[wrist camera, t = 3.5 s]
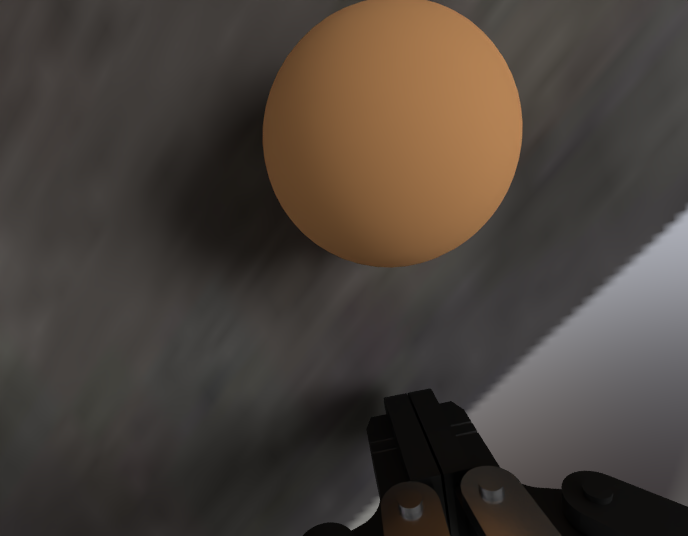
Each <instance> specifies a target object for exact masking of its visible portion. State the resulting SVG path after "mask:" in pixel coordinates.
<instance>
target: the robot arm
mask: <svg viewBox="0 0 688 536" xmlns="http://www.w3.org/2000/svg"><path fill="white" fill-rule="evenodd" d="M384 405H385V411H386V415H381V416H376V417H371V419H370V421H369V424H368V427H367V434H368V440H369V445H370V451H371V456H372V462H373V467H374V473H375V477H376V482H377V487H378V492H379V497H380V503H379V507H378V509H377V511H376V512H375V514H374V515H373V516H372V517H371V518H370V519H369V520H368V521H367V522H366V523H364V524H362V525H361V526H359V527H357V528H355V529H353V530H352V531H351V530H350V529H349V528H347V527H346V526H344V525H342V524H339V523H323V524H320V525H317V526H315V527H313V528H311V529H310V530H308V531H307V532H306V533H305V534H304V535H303V536H688V507H687V506H684V505H682V504H679V503H677V502H674V501H672V500H669V499H667V498H664V497H662V496H659V495H656V494H654V493H651V492H649V491H646V490H644V489H641V488H639V487H636V486H634V485H631V484H629V483H626V482H624V481H621V480H618V479H616V478H613V477H611V476H608V475H605V474H603V473H599V472H593V471H578V472H574V473H572V474H570V475H568V476H567V477H566V478H565V479H564V480H563V483H562V489H550V488H537V487H531V486H526V485H524V484H521V483H520V481H519V480H518V479H517V478H516V477H515V476H514V475H513V474H512V473H510V472H509V471H507V470H504V469H502V468H500V467H499V465H498V463H497V462H496V460H495V459H494V457H493V455H492V454H491V452H490V451H489V449H488V447H487V446H486V444H485V443H484V441H483V439H482V438H481V436H480V435H479V433H477V430H476V428H475V427H474V425H473V424H472V423H471V420H470V419H469V417H468V416H467V414H466V412H465V411H464V409H462V408H461V407H459V406H458V405H456V404H455V403H453V402H452V401H450V402H445V403H440V404H439V403H438V401H437V399H436V397H435V395H434V393H433V391H432V390H431V389H425V390H420V391H415V392H410V393H408V396H407V394H406V393H405V394H400V395H395V396H390V397H385V398H384Z"/></svg>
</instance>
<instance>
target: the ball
mask: <svg viewBox="0 0 688 536" xmlns="http://www.w3.org/2000/svg"><path fill="white" fill-rule="evenodd" d="M521 143H522V113H521V105H520V100H519V95H518V91H517V88H516V85H515V82H514V79H513V76H512V74H511V72H510V70H509V68H508V66H507V64H506V62H505V60H504V58H503V57H502V55H501V54H500V52H499V51H498V49H497V48H496V46H495V45H494V43H493V42H492V41H491V40H490V39H489V38H488V37H487V36H486V35H485V33H484V32H483V31H482V30H481V29H479V28H478V27H477V26H476V25H475V24H473V23H472V22H471V21H470V20H469V19H467V18H465V17H464V16H462V15H461V14H459V13H457V12H456V11H454V10H452V9H450V8H447V7H445V6H443V5H440V4H438V3H435V2H431V1H427V0H367V1H362V2H359V3H356V4H354V5H351V6H348V7H345V8H343V9H341V10H339V11H338V12H336V13H334V14H332V15H330V16H328V17H327V18H326V19H324V20H323V21H321V22H320V23H319V24H317V25H316V26H315V27H313V28H312V29H311V30H310V31H309V32H308V33H307V34H306V35H305V36H304V37H303V38H302V39H301V40H300V41H299V42H298V44H297V45H296V46H295V47H294V49H293V50H292V51H291V52H290V54H289V55H288V56H287V58H286V59H285V61H284V63H283V65H282V66H281V68H280V70H279V71H278V73H277V75H276V78H275V80H274V83H273V85H272V87H271V90H270V93H269V97H268V100H267V104H266V108H265V115H264V122H263V150H264V159H265V164H266V168H267V172H268V177H269V179H270V182H271V185H272V187H273V190H274V193H275V195H276V197H277V198H278V200H279V202H280V204H281V206H282V208H283V209H284V211H285V212H286V213H287V215H288V216H289V218H290V219H291V221H292V222H293V223H294V224H295V225H296V226H297V227H298V228H299V229H300V231H301V232H302V233H303V234H305V235H306V236H307V237H308V238H309V239H310V240H312V241H313V242H314V243H315V244H317V245H318V246H320V247H322V248H323V249H325V250H326V251H328V252H330V253H332V254H334V255H336V256H338V257H340V258H342V259H345V260H349V261H352V262H355V263H358V264H363V265H369V266H375V267H402V266H409V265H414V264H419V263H423V262H426V261H428V260H431V259H434V258H437V257H439V256H441V255H443V254H445V253H447V252H449V251H451V250H453V249H455V248H456V247H458V246H459V245H461V244H462V243H464V242H465V241H467V240H468V239H469V238H470V237H471V236H473V235H474V234H475V233H476V232H477V231H479V230H480V228H481V227H482V226H483V225H484V224H485V223H486V222H487V221H488V220H489V219H490V218H491V216H492V215H493V213H494V212H495V211H496V209H497V208H498V207H499V205H500V203H501V202H502V200H503V198H504V196H505V195H506V193H507V191H508V189H509V186H510V184H511V182H512V179H513V177H514V174H515V170H516V167H517V163H518V160H519V155H520V149H521Z"/></svg>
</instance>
